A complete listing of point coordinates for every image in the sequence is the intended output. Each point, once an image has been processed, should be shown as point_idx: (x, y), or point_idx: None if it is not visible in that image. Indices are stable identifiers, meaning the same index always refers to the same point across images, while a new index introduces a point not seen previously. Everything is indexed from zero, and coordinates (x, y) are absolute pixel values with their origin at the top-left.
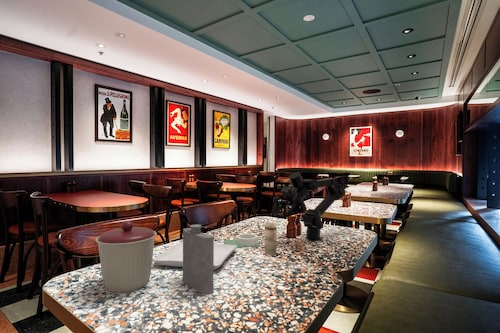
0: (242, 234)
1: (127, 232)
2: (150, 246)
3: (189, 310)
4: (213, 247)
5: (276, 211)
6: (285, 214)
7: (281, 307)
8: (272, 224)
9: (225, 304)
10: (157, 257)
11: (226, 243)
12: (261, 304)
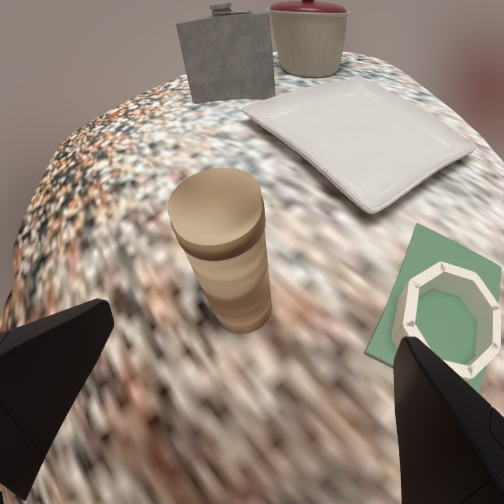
0: (494, 317)
1: (295, 1)
2: (277, 23)
3: (186, 85)
4: (179, 39)
5: (407, 462)
6: (95, 305)
7: (89, 139)
8: (191, 197)
9: (157, 104)
10: (373, 86)
11: (464, 251)
12: (115, 127)
